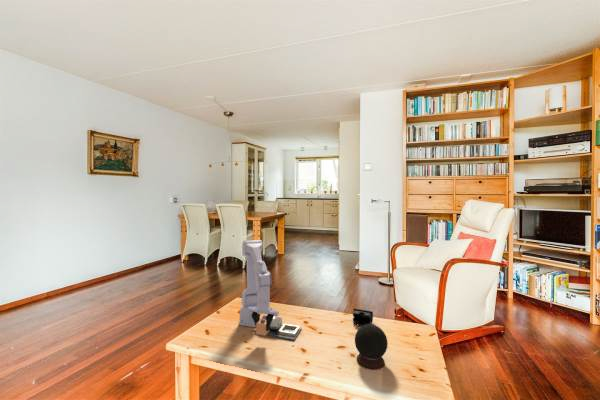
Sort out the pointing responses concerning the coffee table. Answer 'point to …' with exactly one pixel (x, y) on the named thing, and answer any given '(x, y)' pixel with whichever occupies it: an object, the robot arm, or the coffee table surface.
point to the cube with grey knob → (261, 327)
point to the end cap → (362, 317)
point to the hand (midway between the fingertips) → (262, 329)
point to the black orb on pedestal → (371, 346)
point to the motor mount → (282, 329)
